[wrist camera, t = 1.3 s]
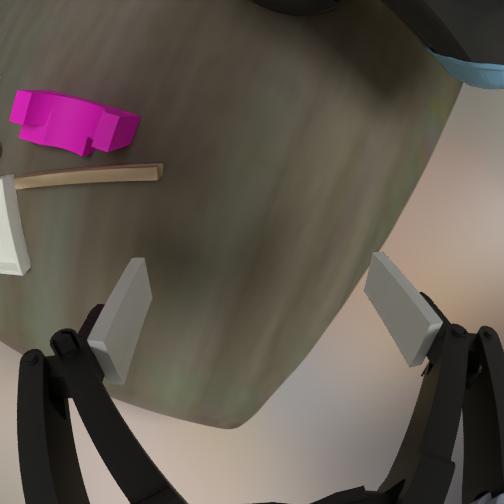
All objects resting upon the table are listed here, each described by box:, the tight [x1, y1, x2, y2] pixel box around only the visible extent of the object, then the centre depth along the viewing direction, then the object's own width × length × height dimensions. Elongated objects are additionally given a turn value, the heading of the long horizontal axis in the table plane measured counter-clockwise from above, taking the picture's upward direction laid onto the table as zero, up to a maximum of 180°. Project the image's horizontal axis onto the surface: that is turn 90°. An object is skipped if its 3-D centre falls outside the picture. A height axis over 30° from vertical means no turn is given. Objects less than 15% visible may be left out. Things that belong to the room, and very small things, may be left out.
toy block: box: [10, 90, 141, 156], centre depth 26 cm, size 15×6×8 cm, turn 65°
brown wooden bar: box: [14, 163, 163, 189], centre depth 30 cm, size 2×22×3 cm, turn 86°
